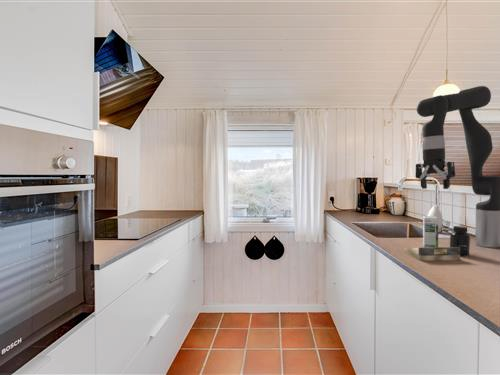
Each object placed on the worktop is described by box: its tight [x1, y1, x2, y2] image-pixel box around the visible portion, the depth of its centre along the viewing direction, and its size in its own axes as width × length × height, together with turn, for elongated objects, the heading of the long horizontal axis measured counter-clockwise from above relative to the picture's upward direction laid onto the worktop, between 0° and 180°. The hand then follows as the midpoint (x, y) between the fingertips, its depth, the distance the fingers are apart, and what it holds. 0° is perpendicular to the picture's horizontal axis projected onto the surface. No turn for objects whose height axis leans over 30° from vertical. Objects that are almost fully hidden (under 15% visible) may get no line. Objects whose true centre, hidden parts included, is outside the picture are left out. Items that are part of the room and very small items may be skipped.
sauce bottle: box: [427, 203, 444, 232], centre depth 167 cm, size 8×8×18 cm
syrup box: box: [422, 215, 439, 248], centre depth 134 cm, size 6×6×14 cm
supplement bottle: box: [449, 225, 471, 257], centre depth 122 cm, size 7×7×12 cm
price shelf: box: [403, 246, 461, 262], centre depth 120 cm, size 16×12×5 cm
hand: (434, 188), depth 114 cm, fingers open, 8 cm apart
